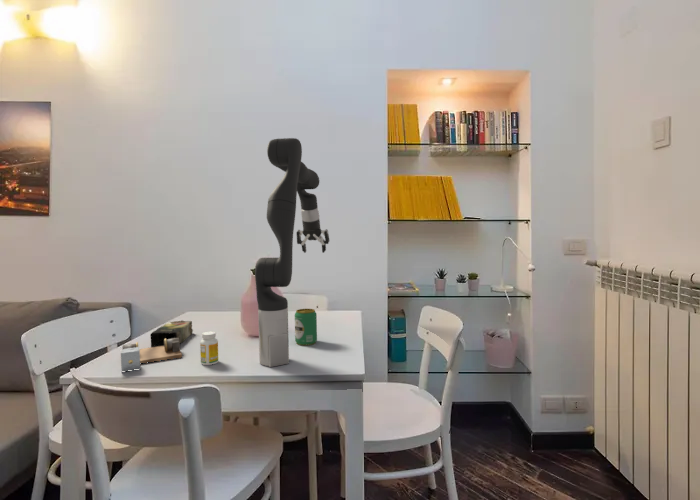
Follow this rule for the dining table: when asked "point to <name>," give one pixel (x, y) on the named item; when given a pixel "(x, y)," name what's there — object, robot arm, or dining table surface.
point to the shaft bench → (159, 351)
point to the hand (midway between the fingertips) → (314, 251)
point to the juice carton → (172, 331)
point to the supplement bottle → (209, 348)
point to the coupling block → (130, 359)
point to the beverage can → (305, 327)
